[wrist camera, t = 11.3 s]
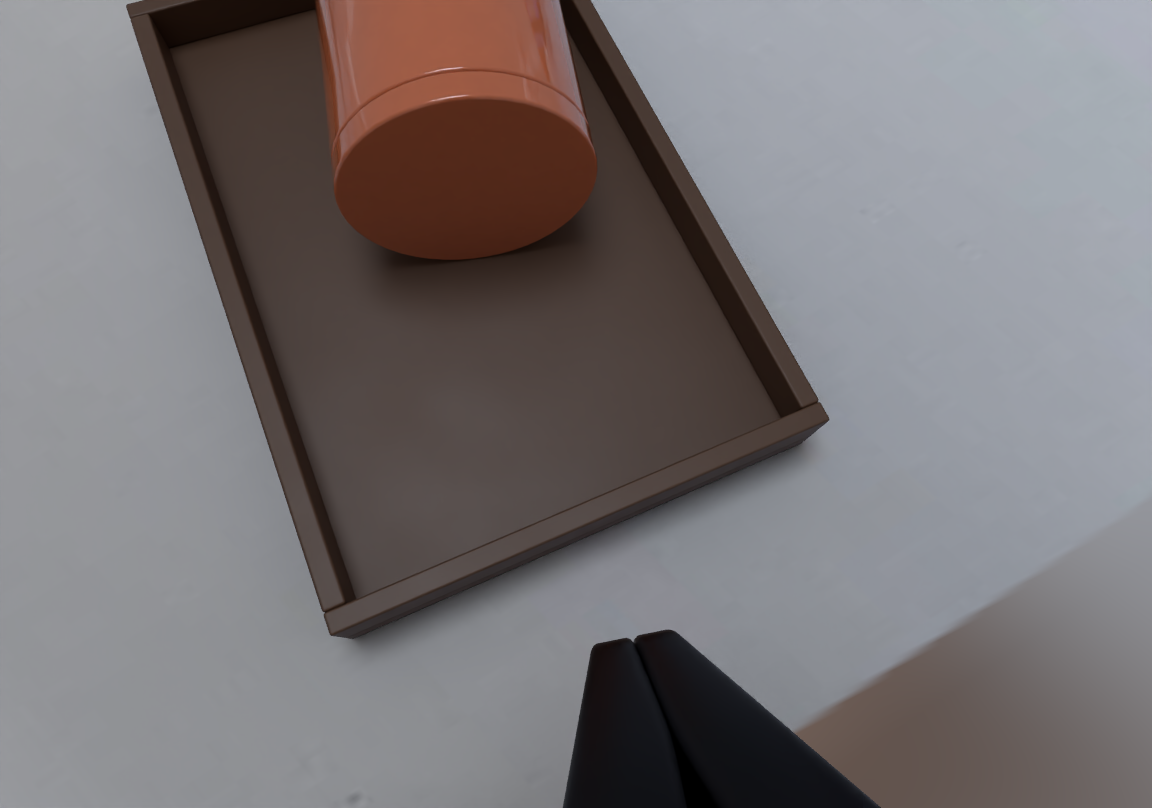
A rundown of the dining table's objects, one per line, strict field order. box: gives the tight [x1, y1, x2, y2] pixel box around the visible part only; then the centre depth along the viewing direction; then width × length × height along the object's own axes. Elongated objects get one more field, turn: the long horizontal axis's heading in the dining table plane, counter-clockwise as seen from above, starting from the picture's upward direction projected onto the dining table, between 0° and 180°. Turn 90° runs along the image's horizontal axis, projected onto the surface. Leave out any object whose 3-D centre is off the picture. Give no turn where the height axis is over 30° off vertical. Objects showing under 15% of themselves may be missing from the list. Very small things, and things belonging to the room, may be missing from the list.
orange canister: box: [315, 0, 598, 260], centre depth 22 cm, size 7×7×11 cm
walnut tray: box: [126, 0, 829, 639], centre depth 23 cm, size 21×14×2 cm
